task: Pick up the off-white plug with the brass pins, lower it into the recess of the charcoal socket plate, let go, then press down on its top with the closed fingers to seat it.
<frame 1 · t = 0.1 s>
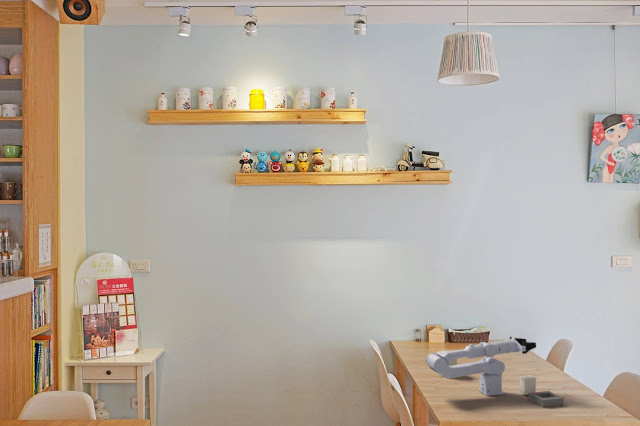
hand: (530, 343, 277), 22 cm above the table, tool horizontal, fingers open, 7 cm apart
plug: (527, 394, 269), on the table
can: (447, 375, 300), on the table
socket: (545, 402, 259), on the table
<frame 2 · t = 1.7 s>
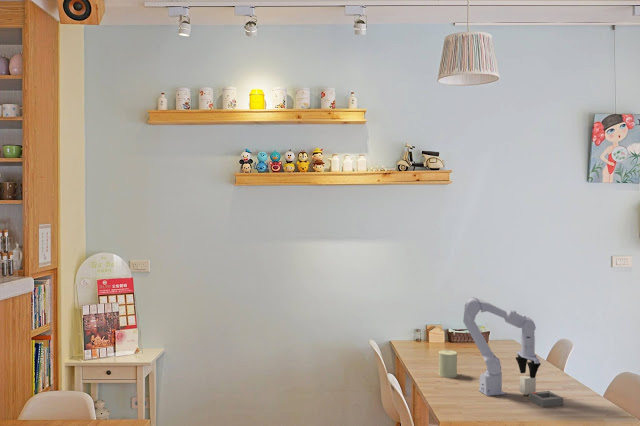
hand: (527, 375, 269), 9 cm above the table, tool pointing down, fingers open, 7 cm apart
nothing on the table moved.
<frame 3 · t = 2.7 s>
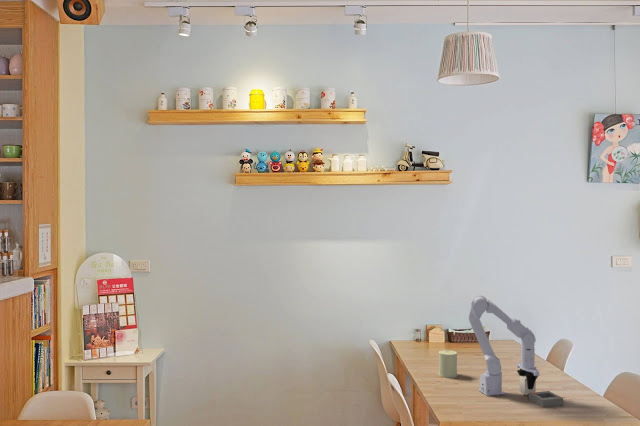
hand: (527, 387, 269), 3 cm above the table, tool pointing down, fingers closed on plug, 4 cm apart
plug: (527, 394, 269), on the table, touching gripper
everything else where it was.
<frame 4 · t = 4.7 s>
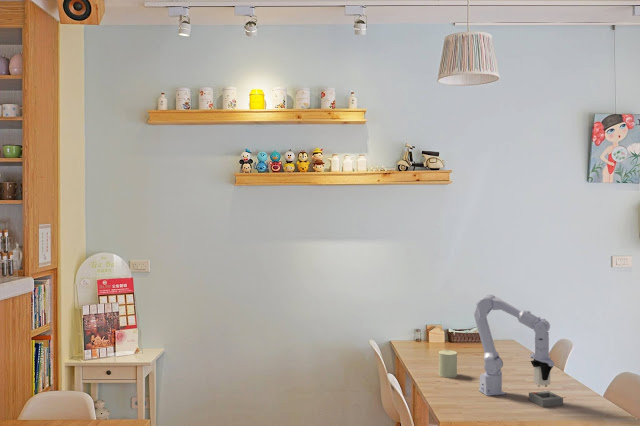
hand: (541, 378, 261), 10 cm above the table, tool pointing down, fingers closed on plug, 4 cm apart
plug: (541, 386, 261), point 6 cm above the table, touching gripper
everything else where it was.
when the fingers open (5 cm above the table, at t = 6.5 s): plug stays where it is, resting on socket.
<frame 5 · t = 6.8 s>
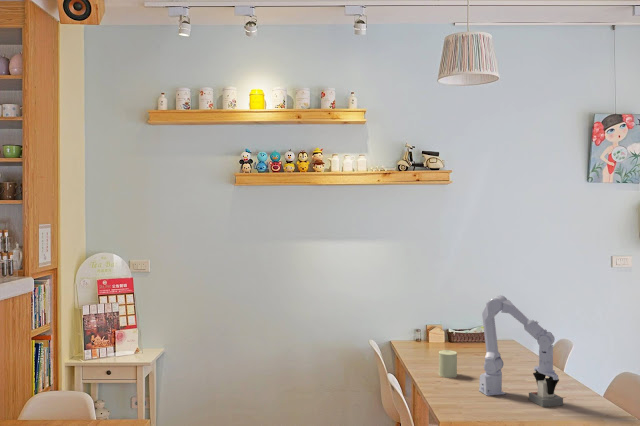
hand: (545, 391, 259), 5 cm above the table, tool pointing down, fingers open, 6 cm apart
plug: (545, 400, 259), point 1 cm above the table, touching socket
everything else where it was.
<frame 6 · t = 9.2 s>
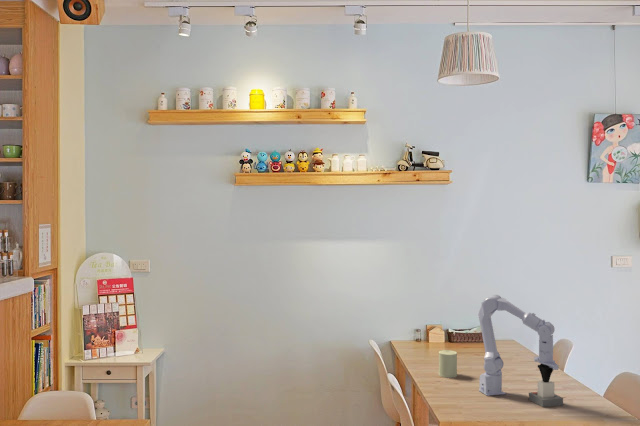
hand: (545, 381, 259), 9 cm above the table, tool pointing down, fingers closed, pressing on plug
plug: (545, 400, 259), point 1 cm above the table, touching gripper, socket
everything else where it was.
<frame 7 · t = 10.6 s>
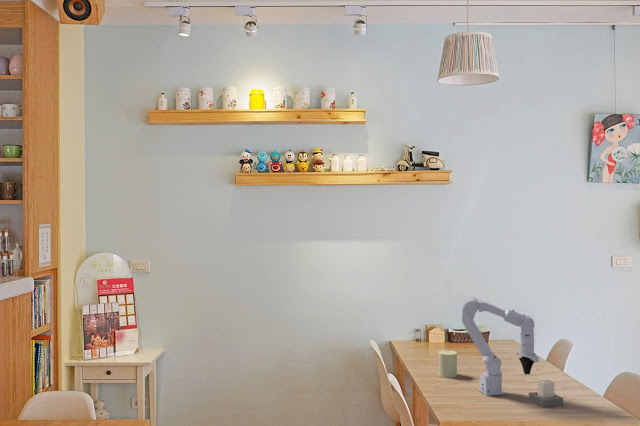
hand: (527, 373, 268), 10 cm above the table, tool pointing down, fingers closed
plug: (545, 400, 259), point 1 cm above the table, touching socket
everything else where it was.
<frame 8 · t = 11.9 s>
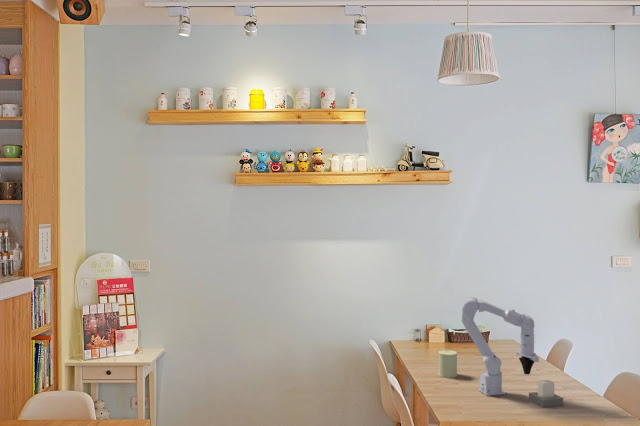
hand: (527, 373, 268), 10 cm above the table, tool pointing down, fingers closed
nothing on the table moved.
at the end: plug 0.1 cm off-centre on the socket, point 0.8 cm above the socket's base; plug tilted 0°; the gripper is holding nothing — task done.
